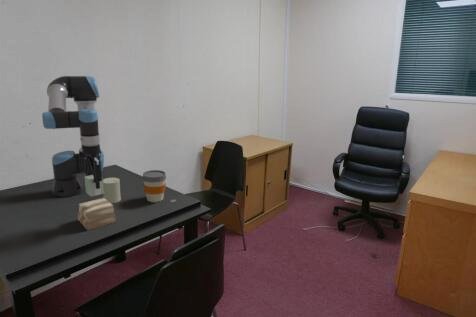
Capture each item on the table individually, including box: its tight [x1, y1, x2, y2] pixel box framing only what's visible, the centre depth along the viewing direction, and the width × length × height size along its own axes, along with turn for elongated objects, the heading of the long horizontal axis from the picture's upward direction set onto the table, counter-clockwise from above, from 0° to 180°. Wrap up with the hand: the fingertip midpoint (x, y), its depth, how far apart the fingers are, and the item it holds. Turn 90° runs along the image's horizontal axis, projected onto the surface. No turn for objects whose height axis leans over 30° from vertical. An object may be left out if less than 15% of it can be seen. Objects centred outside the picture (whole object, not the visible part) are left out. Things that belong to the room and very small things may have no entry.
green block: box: [84, 175, 104, 197], centre depth 160 cm, size 6×6×8 cm
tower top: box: [78, 197, 115, 221], centre depth 164 cm, size 12×12×4 cm
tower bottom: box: [76, 211, 117, 231], centre depth 166 cm, size 13×13×4 cm
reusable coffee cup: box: [142, 169, 167, 203], centre depth 192 cm, size 13×13×15 cm
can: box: [102, 177, 122, 204], centre depth 189 cm, size 9×9×12 cm
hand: (94, 192), depth 161 cm, fingers closed on green block, 6 cm apart
